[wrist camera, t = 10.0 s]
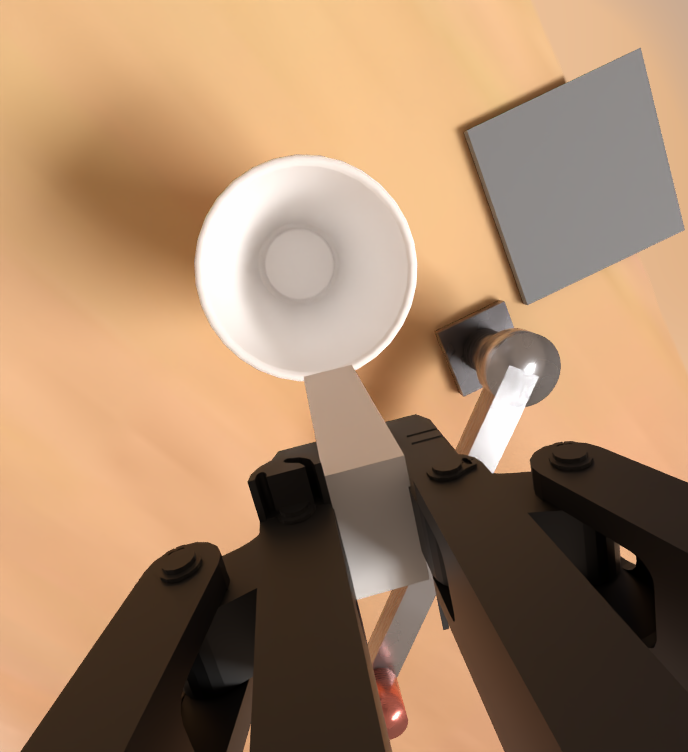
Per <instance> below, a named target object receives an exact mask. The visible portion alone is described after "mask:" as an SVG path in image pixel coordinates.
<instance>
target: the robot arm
mask: <svg viewBox="0 0 688 752" xmlns="http://www.w3.org/2000/svg"><path fill="white" fill-rule="evenodd" d="M304 382H305V387H306V393H307V398H308V403H309V408H310V413H311V418H312V423H313V428H314V433H315V438H316V442H313V443H309V444H305V445H301V446H298V447H294V448H290V449H286V450H282V451H278V453H277V454H276V455H275V457H274V458H273V459H272V461H270V462H268V463H266V464H264V465H262V466H261V467H259V468H258V469H257V470H256V471H255V472H253V473H252V474H251V476H250V478H249V480H248V485H249V488H250V491H251V495H252V498H253V501H254V504H255V507H256V511H257V514H258V517H259V520H260V534H259V535H258V536H257V537H256V538H254V539H253V540H252V541H250V542H249V543H247V544H246V545H244V546H242V547H240V548H239V549H236V550H234V551H232V552H230V553H228V554H226V555H224V556H222V555H221V553H220V551H219V549H218V547H217V546H216V545H213V544H211V543H209V542H195V543H191V544H187V545H182V546H179V547H176V549H172V550H170V551H168V552H167V553H166V554H164V555H163V556H161V557H160V558H159V559H157V560H156V561H154V562H153V563H152V564H151V566H150V567H149V568H148V569H147V570H146V571H145V572H144V573H143V575H142V576H141V578H140V579H139V581H138V582H137V584H136V585H135V587H134V588H133V589H132V591H131V592H130V594H129V595H128V597H127V598H126V600H125V601H124V602H123V604H122V605H121V607H120V608H119V610H118V611H117V613H116V614H115V615H114V617H113V618H112V620H111V621H110V623H109V624H108V626H107V627H106V629H105V630H104V631H103V633H102V634H101V636H100V637H99V639H98V640H97V642H96V643H95V644H94V646H93V647H92V649H91V650H90V652H89V653H88V655H87V656H86V658H85V659H84V660H83V662H82V663H81V665H80V666H79V668H78V669H77V671H76V672H75V673H74V675H73V676H72V678H71V679H70V681H69V682H68V684H67V685H66V686H65V688H64V689H63V691H62V692H61V694H60V695H59V697H58V698H57V700H56V701H55V702H54V704H53V705H52V707H51V708H50V710H49V711H48V713H47V714H46V715H45V717H44V718H43V720H42V721H41V723H40V724H39V726H38V727H37V728H36V730H35V731H34V733H33V734H32V736H31V737H30V739H29V740H28V742H27V743H26V744H25V746H24V747H23V749H22V750H21V752H243V749H244V745H245V742H246V738H247V735H248V731H249V728H250V724H251V735H250V752H392V749H391V745H390V740H389V736H388V732H387V727H386V723H385V718H384V714H383V710H382V705H381V701H380V697H379V692H378V688H377V684H376V679H375V675H374V670H373V666H372V662H371V657H370V653H369V649H368V644H367V640H366V636H365V631H364V627H363V622H362V618H361V614H360V610H359V607H358V603H357V600H358V599H361V598H365V597H369V596H372V595H376V594H379V593H383V592H386V591H390V590H394V589H397V588H401V587H404V586H408V585H411V584H415V583H418V582H422V581H426V580H429V574H428V569H427V564H428V566H429V568H430V570H431V573H432V576H433V581H434V586H435V591H436V596H437V601H438V606H439V611H440V616H441V621H442V626H443V630H446V629H449V626H450V628H451V631H452V633H453V635H454V638H455V640H456V642H457V644H458V647H459V649H460V651H461V654H462V656H463V658H464V660H465V663H466V665H467V667H468V669H469V672H470V674H471V676H472V679H473V681H474V683H475V685H476V688H477V690H478V692H479V694H480V697H481V699H482V701H483V704H484V706H485V708H486V710H487V713H488V715H489V717H490V719H491V722H492V724H493V726H494V729H495V731H496V733H497V735H498V738H499V740H500V742H501V745H502V747H503V749H504V751H505V752H688V483H687V482H685V481H682V480H680V479H677V478H675V477H673V476H670V475H668V474H665V473H663V472H660V471H658V470H655V469H653V468H651V467H648V466H646V465H643V464H641V463H638V462H636V461H633V460H631V459H628V458H626V457H624V456H621V455H619V454H616V453H614V452H611V451H609V450H606V449H604V448H601V447H599V446H595V445H591V444H588V443H578V442H573V441H567V442H564V443H563V442H559V443H554V444H552V445H549V446H545V447H543V448H541V449H539V450H538V451H536V452H535V453H534V454H533V455H532V457H531V459H530V464H531V472H520V473H505V474H496V473H491V472H490V471H489V469H488V468H487V467H486V466H485V465H484V464H483V463H482V462H481V461H480V460H478V459H476V458H475V457H472V456H468V455H464V454H458V453H457V452H456V451H455V449H454V448H453V447H452V446H451V445H450V443H449V442H448V441H447V440H446V438H445V437H443V435H442V434H441V432H440V431H439V430H437V428H436V426H435V425H434V424H433V423H432V422H431V420H430V419H427V418H424V417H422V416H419V415H416V414H415V415H411V416H407V417H403V418H399V419H396V420H392V421H388V422H385V421H384V419H383V418H382V416H381V414H380V413H379V411H378V409H377V407H376V406H375V404H374V402H373V401H372V399H371V397H370V395H369V394H368V392H367V390H366V388H365V387H364V385H363V383H362V382H361V380H360V378H359V376H358V375H357V373H356V371H355V370H354V368H353V366H352V365H348V366H344V367H340V368H336V369H332V370H328V371H324V372H320V373H316V374H312V375H308V376H304ZM620 545H621V546H622V547H624V548H626V549H628V550H629V551H631V552H632V553H633V554H635V555H636V560H637V562H636V565H635V564H633V563H631V562H629V561H627V560H625V559H624V558H622V557H621V556H620ZM426 562H427V564H426Z"/></svg>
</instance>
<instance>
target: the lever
mask: <svg viewBox="0 0 688 752" xmlns="http://www.w3.org/2000/svg"><path fill="white" fill-rule="evenodd" d="M560 369H561V363H560V357H559V354H558V351H557V349H556V348H555V346H554V345H553V344H552V343H551V342H550V341H549V340H548V339H547V338H545V337H543V336H541V335H538V334H535V333H532V332H529V331H527V330H523V329H519V328H511V329H505V330H502V331H500V332H498V333H496V334H494V335H493V336H492V337H490V338H489V339H488V340H487V341H486V342H485V344H484V345H483V346H482V348H481V350H480V352H479V355H478V358H477V363H476V372H477V377H478V380H479V382H480V384H481V385H482V387H483V390H482V392H481V394H480V397H479V399H478V401H477V403H476V405H475V408H474V410H473V412H472V414H471V416H470V419H469V421H468V423H467V425H466V428H465V430H464V432H463V434H462V436H461V439H460V441H459V443H458V445H457V447H456V450H455V451H456V452H457V453H458V454H464V455H468V456H472V457H475V458H476V459H478V460H480V461H481V462H482V463H483V464H484V465H485V466H486V467H487V468H488V469H489V471H490V472H491V473H494V471H495V469H496V467H497V465H498V463H499V460H500V458H501V456H502V454H503V452H504V450H505V448H506V446H507V444H508V441H509V439H510V437H511V435H512V433H513V431H514V429H515V427H516V425H517V422H518V420H519V418H520V416H521V414H522V412H523V410H524V408H525V407H527V406H531V405H534V404H536V403H538V402H540V401H541V400H543V399H544V398H545V397H547V396H548V395H549V394H550V392H551V391H552V390H553V388H554V387H555V385H556V383H557V381H558V378H559V375H560ZM426 564H427V562H426ZM427 569H428V574H429V580H426V581H422V582H418V583H415V584H411V585H408V586H404V587H401V588H397V589H394V590H392V591H391V593H390V596H389V598H388V600H387V602H386V604H385V607H384V609H383V611H382V613H381V615H380V618H379V620H378V622H377V624H376V626H375V629H374V631H373V633H372V635H371V638H370V640H369V642H368V649H369V653H370V657H371V662H372V666H373V670H374V675H375V679H376V684H377V688H378V692H379V697H380V701H381V705H382V710H383V714H384V718H385V723H386V727H387V732H388V736H389V739H393V738H396V737H398V736H399V735H401V734H402V733H403V732H404V731H405V729H406V727H407V724H408V718H407V715H406V711H405V707H404V704H403V700H402V696H401V692H400V689H399V685H398V681H397V676H398V674H399V672H400V670H401V668H402V666H403V663H404V661H405V659H406V657H407V655H408V653H409V651H410V649H411V647H412V644H413V642H414V640H415V638H416V636H417V634H418V632H419V630H420V628H421V625H422V623H423V621H424V619H425V617H426V615H427V613H428V611H429V608H430V606H431V604H432V602H433V600H434V598H435V596H436V591H435V586H434V581H433V576H432V573H431V570H430V568H429V566H428V564H427Z"/></svg>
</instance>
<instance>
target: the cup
mask: <svg viewBox="0 0 688 752" xmlns="http://www.w3.org/2000/svg"><path fill="white" fill-rule="evenodd" d="M194 265H195V282H196V288H197V292H198V296H199V299H200V303H201V307H202V309H203V311H204V313H205V315H206V317H207V319H208V321H209V323H210V326H211V327H212V329H213V330H214V331H215V333H216V334H217V335H218V337H219V338H220V339H221V341H222V342H223V343H224V345H225V346H227V347H228V348H229V349H230V350H231V351H232V352H233V353H234V354H235V355H236V356H238V357H239V358H240V359H241V360H243V361H244V362H246V363H248V364H249V365H251V366H252V367H254V368H256V369H257V370H259V371H262V372H265V373H267V374H270V375H273V376H275V377H278V378H283V379H289V380H295V381H304V376H308V375H312V374H316V373H320V372H324V371H328V370H332V369H336V368H340V367H344V366H348V365H352V366H353V368H354V370H356V369H359V368H360V367H362V366H363V365H365V364H366V363H368V362H369V361H371V360H372V359H374V358H375V357H376V356H378V355H379V354H380V353H381V352H382V351H383V350H384V349H385V348H386V347H387V346H388V345H389V344H390V343H391V341H392V340H393V339H394V337H395V336H396V334H397V333H398V331H399V330H400V328H401V327H402V326H403V323H404V321H405V319H406V317H407V315H408V312H409V310H410V308H411V305H412V301H413V297H414V293H415V288H416V279H417V259H416V252H415V245H414V240H413V237H412V234H411V232H410V229H409V226H408V223H407V220H406V219H405V217H404V215H403V213H402V212H401V210H400V208H399V207H398V205H397V203H396V201H395V200H394V199H393V198H392V197H391V196H390V195H389V193H388V192H387V191H386V190H385V189H384V188H383V187H382V185H381V184H379V183H378V182H377V181H375V180H374V179H373V178H371V177H370V176H369V175H367V174H366V173H365V172H364V171H362V170H360V169H358V168H356V167H354V166H352V165H350V164H347V163H345V162H343V161H341V160H337V159H333V158H328V157H324V156H320V155H291V156H286V157H280V158H275V159H272V160H269V161H267V162H264V163H262V164H260V165H257V166H255V167H252V168H251V169H249V170H248V171H247V172H245V173H244V174H242V175H241V176H239V177H238V178H236V179H235V180H234V181H233V182H232V183H231V184H230V185H229V186H228V187H227V188H226V189H225V190H224V191H223V192H222V193H221V194H220V195H219V196H218V197H217V199H216V201H215V202H214V204H213V206H212V207H211V209H210V210H209V212H208V214H207V215H206V217H205V220H204V222H203V225H202V228H201V231H200V234H199V236H198V239H197V247H196V254H195V261H194Z"/></svg>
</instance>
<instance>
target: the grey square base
mask: <svg viewBox="0 0 688 752" xmlns="http://www.w3.org/2000/svg"><path fill="white" fill-rule="evenodd" d="M511 328H514V327H513V324H512V321H511V318H510V315H509V313H508V310H507V307H506V304H505V302H504V301H501V300H499V301H497V302H495V303H493V304H491V305H489V306H487V307H484V308H482V309H480V310H478V311H476V312H474V313H472V314H470V315H468V316H466V317H464V318H461V319H459V320H457V321H455V322H453V323H451V324H449V325H447V326H445V327H443V328H441V329H438V330H436V331H435V334H436V336H437V339H438V341H439V343H440V346H441V348H442V351H443V353H444V356H445V358H446V361H447V363H448V365H449V368H450V370H451V373H452V375H453V378H454V380H455V383H456V385H457V387H458V390H459V392H460V394H461V395H463V396H466V395H468V394H470V393H472V392H474V391H476V390H478V389H480V388H483V387H482V385H481V384H480V382H479V380H478V377H477V372H476V363H477V358H478V355H479V352H480V350H481V348H482V346H483V345H484V344H485V342H486V341H487V340H488V339H489V338H490V337H492V336H493V335H494V334H496V333H498V332H500V331H502V330H505V329H511Z"/></svg>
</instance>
